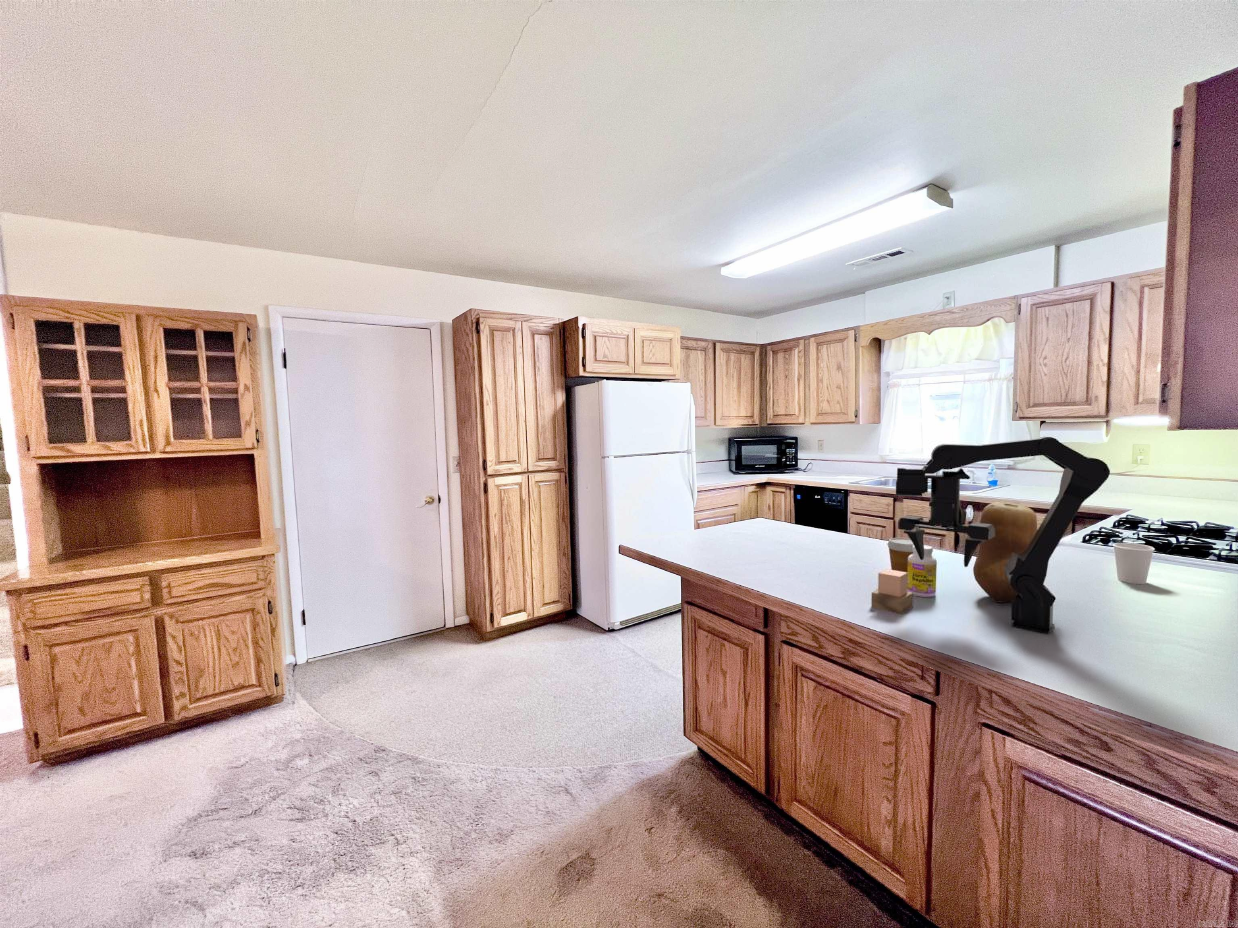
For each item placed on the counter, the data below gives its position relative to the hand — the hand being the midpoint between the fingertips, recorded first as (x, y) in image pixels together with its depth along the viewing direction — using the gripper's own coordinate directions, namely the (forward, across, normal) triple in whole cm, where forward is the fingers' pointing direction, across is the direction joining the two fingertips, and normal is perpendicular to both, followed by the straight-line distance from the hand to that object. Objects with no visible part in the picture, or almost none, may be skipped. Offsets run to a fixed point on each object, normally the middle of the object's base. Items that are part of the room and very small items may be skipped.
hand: (943, 562), depth 122 cm
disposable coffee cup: (+13, +16, -21) cm, 29 cm away
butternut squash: (+13, -7, -22) cm, 26 cm away
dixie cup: (+13, -27, -66) cm, 72 cm away
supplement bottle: (+13, +9, -13) cm, 20 cm away
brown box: (+13, +10, +3) cm, 17 cm away
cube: (+9, +10, +3) cm, 14 cm away
